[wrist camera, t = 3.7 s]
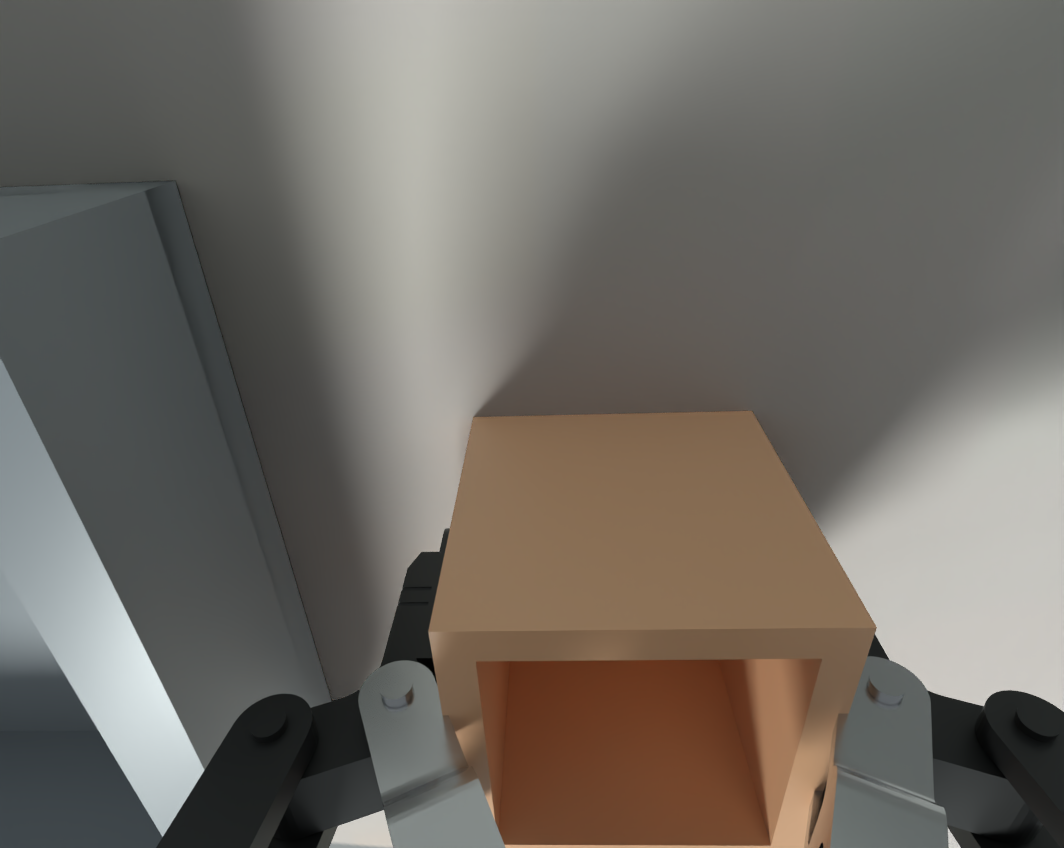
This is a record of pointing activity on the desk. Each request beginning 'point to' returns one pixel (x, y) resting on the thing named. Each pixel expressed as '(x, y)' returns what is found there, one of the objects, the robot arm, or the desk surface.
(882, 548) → the desk surface
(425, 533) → the desk surface
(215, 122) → the desk surface
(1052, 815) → the robot arm
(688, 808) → the box
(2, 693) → the big crate
